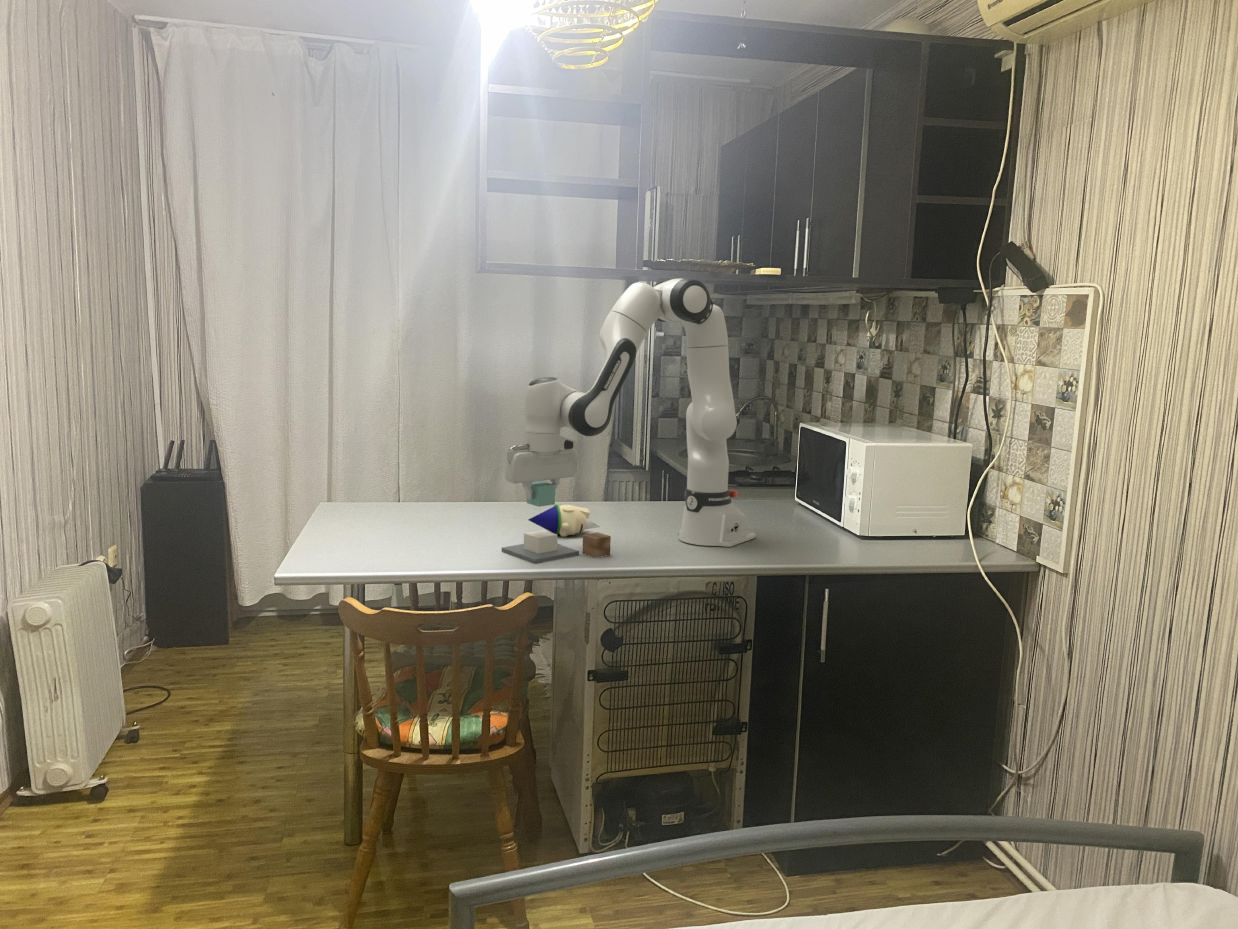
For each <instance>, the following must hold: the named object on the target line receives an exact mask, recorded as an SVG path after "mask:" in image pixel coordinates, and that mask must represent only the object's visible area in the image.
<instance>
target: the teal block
mask: <svg viewBox="0 0 1238 929" xmlns="http://www.w3.org/2000/svg"><path fill="white" fill-rule="evenodd" d="M530 487H531V490H532V492H535V499H530V500H529V499H527V498H526V504H528V505H533V506H534V507H540V508H541V507H546V506H547V507H548V506H552V505H553V506H554V505H556V503H555V502H556V493H555V485H554V484H551V482H550V483H549V482H545V481H536V482H532V486H530Z"/></svg>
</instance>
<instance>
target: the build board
mask: <svg viewBox="0 0 1238 929" xmlns="http://www.w3.org/2000/svg"><path fill="white" fill-rule="evenodd" d="M501 552H502V553H505V554H508V555H510V556H513V557H516V558H519V559H521V560H525V561H526V560H527V561H526V562H529V561H530V563H532V562H533V563H532V564H540V563H543V561H545V562H550V561H555V560H559V559H560V558H561V559H565V557H566V558H570V557H575V555H576V556H579V555H580V550H578V549H576V548H575V549H574V548H572V547H568V546H566V545H563V544H560V543H558V535H557V534H554V533H552V532H550V531H548V530H545V529H541V530H540V529H539V530H536V531H535V530H534V531H530V532H523V543H521V544H515V545H514V544H513V545H509V546H503V547H502V546H501ZM549 560H550V561H549ZM539 562H540V563H539Z"/></svg>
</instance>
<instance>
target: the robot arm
mask: <svg viewBox="0 0 1238 929" xmlns="http://www.w3.org/2000/svg"><path fill="white" fill-rule="evenodd" d="M710 294H711V293H710V291H709V289H708V288H707V286H706V285H705V284H704V283H703V282H701V281H700V280H698V279H695V278H691V277H686V278H672V279H669V280H666V281H660V282H657V283H656V284H653V285H650V284H648V283H645V282H641V281H640V282H638V281H637V282H634V283H632V284H631V285H629V287H628V288H627V289H626V290H625V291H623V293H622V294H621V295H620V297H619V298H618V299H617V301H616V302H615V303H614V305H613V306H612V307H611V309H610V311H609V313H608V314H607V316H606V318H605V320H604V321H603V324H602V326H601V328H600V332H599V339H600V343H601V345H602V347H603V349H604V351H605V355H606V356H605V361H604V364H603V366H602V367H601V370H600V372H599V374H598V376H597V377H596V379H595V381H594V383H593V385H592V387H591V388H590V389H589V390H588V391H586V392H583V391H579V390H577V389H574V388H572V387H570V386H568V385H567V384H564V383H563V382H561V380H559V378H557V377H554V376H547V377H540V378H536V379H534V380H532V381H530V382H529V383H528V385H527V387H526V393H525V400H524V401H525V402H524V404H525V405H524V415H525V419H526V420H525V421H526V422H525V426H524V436H523V437H524V442H523V443H524V444H519V445H518V444H514V445H512V446H511V447H510V448H509V449H508V450H507V451H506V463H505V469H504V470H505V472H504V478H505V479H504V480H505V481H506V482H507V483H509V484H510V483H511V484H514V485H515V484H522V488H524V490H525V492H526V494H525V497H526V500H527V499H529V500H530V499H535V492H532V490H531V487H530V486H532V483H535V482H543V481H549V480H550V481H549V482H550V484H554V485H555V494H556V491H557V488H558V486H559V484H560V479H566V478H574V477H575V476H576V474H577V472H578V471H577V470H578V458H577V457H578V455H577V452H576V450H575V449H576V448H577V442H576V441H575V440H572V439H569V438H567V437H564V436H561V429H562V428H563V427H564V428H568V429H570V430H573V431H575V432H577V433H578V434H581V435H582V436H585V437H594V436H595V437H596V436H597V435H600V434H601V433H603V432H604V431H605V430H606V429H607V428H608V426H609V424H610V422H611V419H612V413H613V409H614V404H615V402H616V399H617V397H618V395H619V392H620V390H622V387H623V384H624V383H625V381H626V379H627V377H628V375H629V372H630V370H631V369H632V367H633V364H634V362H635V359H636V357H637V354H638V351H639V349H640V348H641V345H642V344H643V343H644V340H645V339H646V337H647V335H648V334H649V331H650V330H651V328H652V326H653V325H654V324H655V322H656V321H659V322H663V323H681V325H682V326H683V328H684V331H685V335H686V337H685V338H686V339H685V342H686V363H687V364H686V366H687V367H686V368H687V378H688V379H687V380H688V383H689V389H690V395H691V402H690V403H689V405H688V406H687V408H686V411H685V419H686V420H685V422H686V423H685V427H686V430H685V431H686V448H687V475H686V476H687V477H686V478H687V479H686V484H687V485H686V487H685V491H684V501H685V505H684V507H683V513H682V519H681V526H680V529H679V530H678V534H679V535H678V540H679V541H680V542H684V543H687V544H691V545H697V546H708V547H709V546H710V547H713V546H714V547H715V546H716V547H725V548H729V547H730V548H731V547H733V546H737V545H739V544H742V543H745V542H747V541H750V540H753V539H756V533H754V532H753V531H749V530H748V518H747V516H746V515H745V513H743V512H742V511H741V510H740V509H739V508H737V507H736V506H735V505H734V504H733V502H732V498H734V499H736V498H738V496H739V492H738V491H737V490H734V489H730V490H729V489H728V485H729V467H730V460H729V455H728V445H727V443H728V442H727V439H729V438H731V437H732V436H733V435H734V433H735V432H736V428H737V426H738V425H737V422H738V421H737V415H736V408H735V401H734V394H733V388H732V382H731V376H730V360H729V359H730V356H729V339H728V338H729V337H728V331H727V330H728V329H727V324H726V319H725V314H724V311H723V310H722V308H721V307H720V306H718V305H716V304H715V303H714V302H713V300H712V298H711V295H710Z"/></svg>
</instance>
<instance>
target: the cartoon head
mask: <svg viewBox="0 0 1238 929" xmlns="http://www.w3.org/2000/svg"><path fill="white" fill-rule="evenodd" d="M590 513H591V512H590V510H589V508H587V507H581V506H576V505H572V504H562V505H559V504H554V505H553V506H552V507H550V508H548V509H546V510H544V511H543V512H540V513H538V514H536V515H535V516H533V517H530V518H529V519H527V520H528V521H529V522H531V523H533V524H535V525H537V526H539V527H541V528H542V529H543V530H545V531H547V532H551V533H554V534H557V536H558V535H559V536H560V537H562V538H564V537H565V538H566V537H568V536H574V535H576V534H579V533H580V534H581V533H582V532H583V531H584V530H589V529H596V528H597V529H598V528H600V525H599V524H597V523H595V522H593V521H592V520H591V519H589V517H590Z"/></svg>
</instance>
